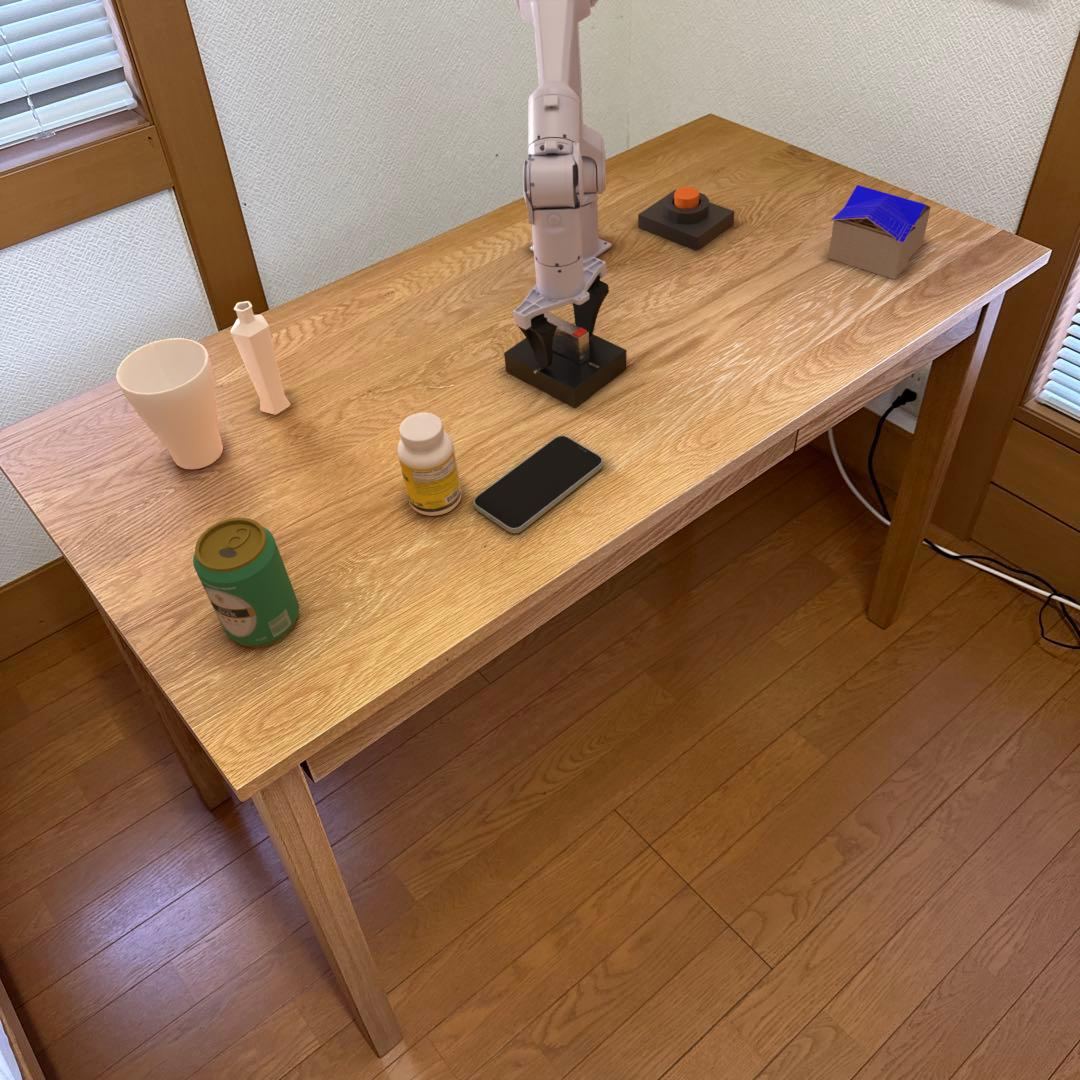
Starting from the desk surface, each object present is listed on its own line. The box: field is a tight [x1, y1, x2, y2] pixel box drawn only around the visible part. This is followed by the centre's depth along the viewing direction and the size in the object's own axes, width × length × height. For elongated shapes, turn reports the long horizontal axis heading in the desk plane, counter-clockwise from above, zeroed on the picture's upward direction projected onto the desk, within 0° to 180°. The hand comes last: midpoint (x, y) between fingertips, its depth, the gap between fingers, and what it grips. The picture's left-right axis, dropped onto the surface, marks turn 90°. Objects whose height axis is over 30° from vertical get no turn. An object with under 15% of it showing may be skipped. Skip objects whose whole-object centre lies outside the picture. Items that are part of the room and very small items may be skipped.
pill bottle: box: [396, 412, 463, 517], centre depth 116 cm, size 6×6×11 cm
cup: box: [115, 337, 224, 470], centre depth 124 cm, size 10×10×14 cm
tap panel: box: [503, 329, 628, 409], centre depth 134 cm, size 12×11×3 cm
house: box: [827, 184, 932, 280], centre depth 145 cm, size 10×11×8 cm
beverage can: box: [192, 517, 300, 649], centre depth 105 cm, size 8×8×12 cm
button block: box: [637, 189, 735, 251], centre depth 155 cm, size 11×9×4 cm
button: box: [674, 186, 700, 209], centre depth 153 cm, size 4×4×2 cm
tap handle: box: [543, 311, 590, 365], centre depth 131 cm, size 7×2×4 cm, turn 46°
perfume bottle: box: [229, 300, 292, 416], centre depth 129 cm, size 5×4×15 cm
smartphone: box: [473, 435, 604, 534], centre depth 120 cm, size 7×1×15 cm
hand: (564, 348), depth 132 cm, fingers open, 7 cm apart
